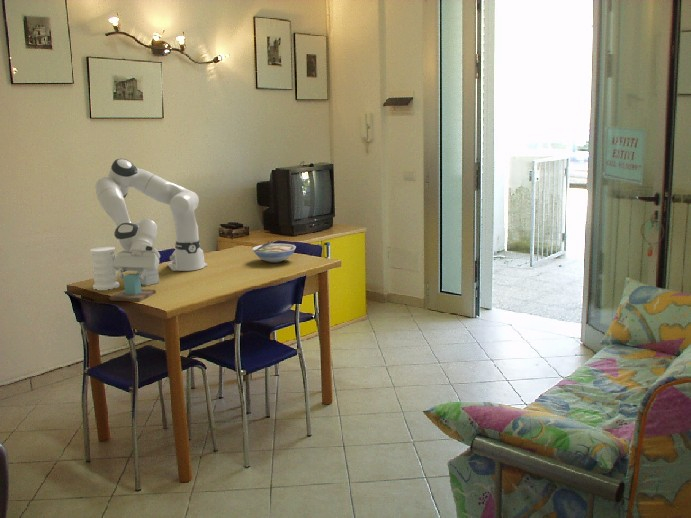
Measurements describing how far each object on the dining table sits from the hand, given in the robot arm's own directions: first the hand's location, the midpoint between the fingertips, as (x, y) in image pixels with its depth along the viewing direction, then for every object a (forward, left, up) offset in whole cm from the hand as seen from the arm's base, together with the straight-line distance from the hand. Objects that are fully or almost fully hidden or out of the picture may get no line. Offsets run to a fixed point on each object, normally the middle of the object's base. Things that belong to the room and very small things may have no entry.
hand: (130, 278), depth 299 cm
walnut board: (0, 0, -8) cm, 8 cm away
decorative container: (-25, -5, -9) cm, 27 cm away
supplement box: (-20, +13, -9) cm, 26 cm away
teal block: (-1, +1, -7) cm, 7 cm away
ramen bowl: (-25, +82, -9) cm, 87 cm away
